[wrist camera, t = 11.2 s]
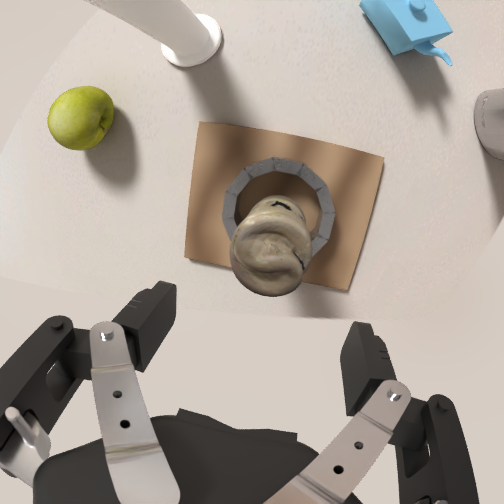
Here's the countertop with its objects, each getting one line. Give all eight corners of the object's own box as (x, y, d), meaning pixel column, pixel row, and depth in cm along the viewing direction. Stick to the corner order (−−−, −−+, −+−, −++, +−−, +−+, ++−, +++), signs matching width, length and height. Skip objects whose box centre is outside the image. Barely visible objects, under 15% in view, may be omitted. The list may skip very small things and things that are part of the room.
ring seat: (339, 169, 28) (344, 172, 26) (316, 264, 32) (318, 275, 30) (237, 149, 29) (231, 150, 26) (223, 245, 33) (216, 255, 30)
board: (381, 157, 28) (384, 157, 27) (346, 286, 34) (347, 290, 33) (202, 122, 29) (199, 121, 28) (186, 254, 35) (184, 257, 34)
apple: (121, 153, 32) (81, 161, 24) (71, 140, 31) (30, 146, 24) (137, 93, 28) (98, 86, 21) (84, 86, 28) (43, 81, 21)
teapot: (442, 70, 23) (475, 59, 16) (405, 83, 24) (434, 71, 17) (390, -11, 19) (409, -38, 12) (350, -1, 21) (363, -31, 14)
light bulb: (252, 184, 30) (215, 223, 16) (303, 180, 29) (313, 217, 15) (257, 234, 32) (228, 308, 18) (307, 232, 31) (315, 306, 17)
